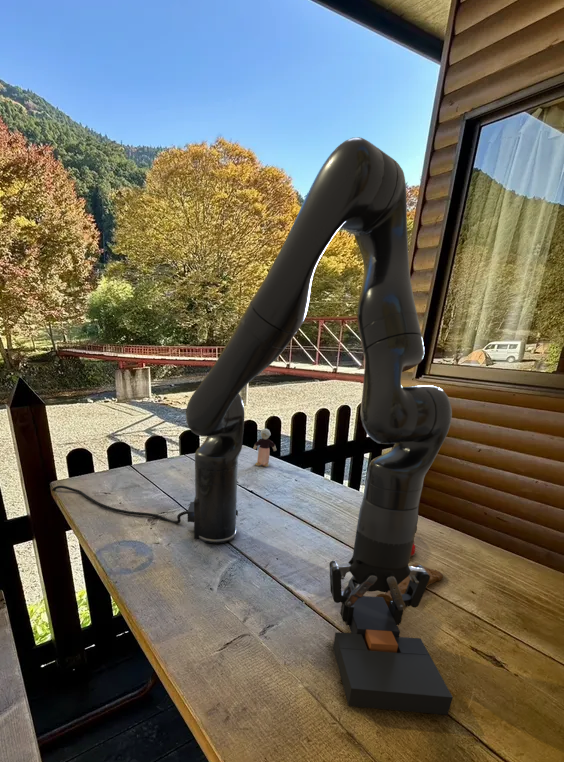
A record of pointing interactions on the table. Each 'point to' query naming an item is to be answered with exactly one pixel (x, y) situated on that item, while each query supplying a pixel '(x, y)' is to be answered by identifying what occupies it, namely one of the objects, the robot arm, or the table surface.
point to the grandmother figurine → (264, 448)
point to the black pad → (391, 676)
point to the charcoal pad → (375, 624)
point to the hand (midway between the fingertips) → (368, 623)
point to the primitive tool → (403, 585)
